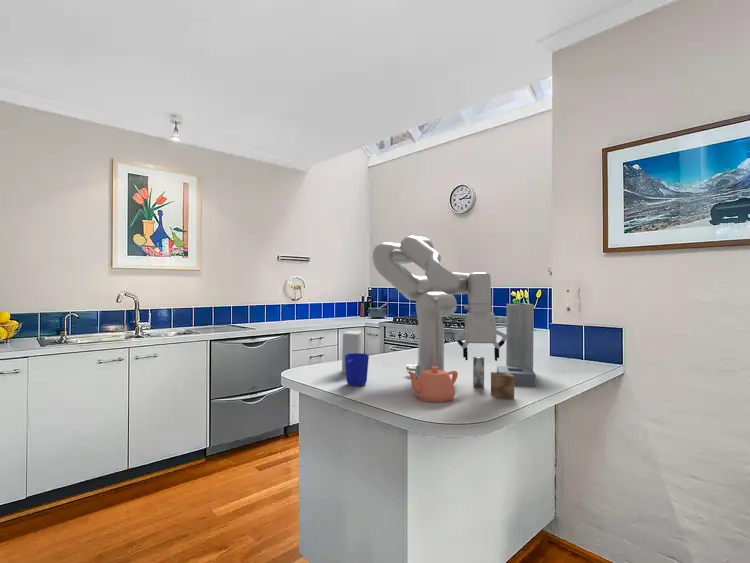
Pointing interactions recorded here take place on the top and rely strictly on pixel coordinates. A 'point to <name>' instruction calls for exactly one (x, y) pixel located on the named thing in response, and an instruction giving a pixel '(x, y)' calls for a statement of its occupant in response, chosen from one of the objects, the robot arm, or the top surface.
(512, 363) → the vase
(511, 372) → the socket block
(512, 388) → the square peg
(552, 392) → the top surface
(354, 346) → the skincare box
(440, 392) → the teapot
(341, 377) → the top surface
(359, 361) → the mug
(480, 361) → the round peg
